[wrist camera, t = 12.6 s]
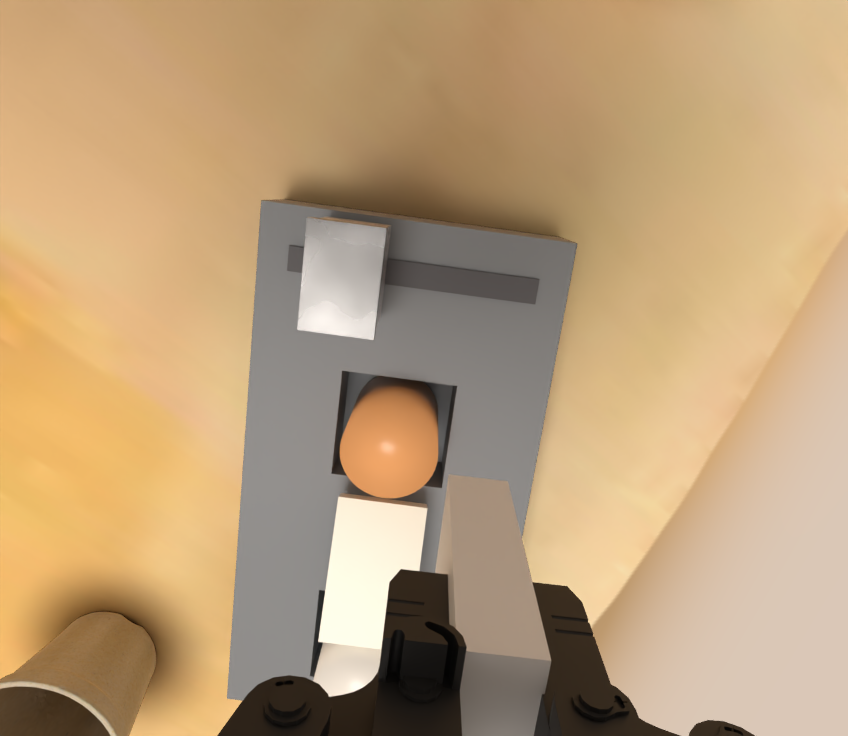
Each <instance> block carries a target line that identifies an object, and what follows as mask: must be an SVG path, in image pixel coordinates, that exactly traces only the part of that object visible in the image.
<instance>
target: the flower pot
mask: <svg viewBox="0 0 848 736" xmlns="http://www.w3.org/2000/svg"><path fill="white" fill-rule="evenodd" d="M155 666H156V651H155V647H154V644H153V642H152V640H151V638H150V636H149V635H148V633H147V632H146V631H145V629H144V628H143V627H141V626H139V625H136V624H134V623H132V622H130V621H129V620H127V619H126V618H125V617H124V616H123V615H121V614H117V613H112V612H94V613H90V614H87V615H84V616H82V617H80V618H78V619H76V620H75V621H73V622H72V623H71V624H70V625H69V626H68V627H67V628H66V629H65V630H64V631H62V632H61V633H60V634H59V635H58V636H57V637H56V638H54V639H53V640H52V641H51V642H50V643H49V644H47V645H46V646H45V647H44V648H43V649H41V650H40V651H39V652H38V653H37V654H36V655H34V656H33V657H32V658H31V659H30V660H28V661H27V662H26V663H25V664H24V665H22V666H21V667H20V668H19V669H18V670H16V671H15V672H14V673H12V674H10V675H7V676H5V677H3V678H2V679H0V736H129V735H130V732H131V729H132V727H133V724H134V722H135V719H136V716H137V714H138V711H139V708H140V706H141V703H142V700H143V698H144V695H145V693H146V690H147V687H148V685H149V682H150V680H151V678H152V675H153V673H154V670H155Z"/></svg>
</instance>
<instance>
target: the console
mask: <svg viewBox="0 0 848 736" xmlns="http://www.w3.org/2000/svg"><path fill="white" fill-rule="evenodd" d="M307 217H315V218H323V217H334V218H342V219H349V220H356V221H364V222H371V223H378V224H386V225H391V233H390V242H389V250H388V259H387V267H386V275H385V284H384V292H383V301H382V309H381V318H380V320H379V322H378V324H377V327H376V333H375V338H374V340H369V339H362V338H354V337H347V336H340V335H332V334H325V333H317V332H310V331H302V330H297V326H298V314H299V303H300V291H301V280H302V268H303V257H304V245H305V233H306V222H307ZM576 249H577V243H574V242H572V241H569V240H566V239H563V238H560V237H556V236H548V235H541V234H534V233H526V232H519V231H512V230H504V229H497V228H490V227H482V226H475V225H468V224H461V223H453V222H446V221H439V220H431V219H424V218H417V217H409V216H402V215H395V214H388V213H380V212H373V211H366V210H358V209H351V208H344V207H336V206H329V205H322V204H315V203H307V202H300V201H293V200H285V199H284V200H261V214H260V228H259V243H258V257H257V271H256V286H255V300H254V315H253V329H252V344H251V358H250V373H249V387H248V402H247V416H246V431H245V445H244V460H243V474H242V489H241V503H240V518H239V532H238V547H237V561H236V576H235V590H234V605H233V619H232V633H231V648H230V662H229V677H228V691H227V698H228V699H235V700H244V698H245V697H246V696H247V694H248V693H249V692H250V691H251V690H253V689H254V688H255V687H256V686H257V685H258V684H260V683H262V682H264V681H266V680H269V679H271V678H273V677H280V676H287V675H292V676H299V677H306V678H308V679H310V680H312V681H313V680H314V676H315V672H316V668H317V664H318V660H319V656H320V652H321V648H322V644H323V642H318V639H319V632H320V625H321V618H322V611H323V604H324V596H325V589H326V582H327V575H328V568H329V560H330V553H331V546H332V539H333V532H334V524H335V517H336V510H337V503H338V496H339V495H340V494H341V493H346V494H354V495H361V496H369V497H376V496H373V495H370V494H368V493H366V492H364V491H362V490H361V489H359V488H358V487H357V486H356V485H354V484H353V483H352V481H351V480H350V479H349V478H348V476H347V475H346V473H345V471H344V469H343V467H342V464H341V460H340V443H341V439H342V436H343V433H344V431H345V428H346V426H347V423H348V421H349V418H350V416H351V413H352V410H353V408H354V405H355V403H356V400H357V398H358V396H359V394H360V392H361V390H362V389H363V387H364V386H365V385H366V384H367V383H368V382H369V381H371V380H372V379H374V378H375V377H377V376H386V377H394V378H401V379H409V380H416V381H423V382H424V383H425V384H426V385H427V386H428V387H429V388H430V390H431V391H432V392H433V394H434V396H435V399H436V401H437V406H438V461H437V465H436V468H435V471H434V473H433V475H432V476H431V478H430V479H429V481H428V482H427V483H426V484H425V485H424V486H423V487H421V488H420V489H419V490H417V491H416V492H414V493H412V494H410V495H407V496H404V497H400V498H384V499H392V500H399V501H407V502H415V503H422V504H427V516H426V524H425V531H424V539H423V546H422V554H421V562H420V569H419V571H422V572H431V573H435V569H436V562H437V555H438V548H439V541H440V533H441V526H442V519H443V512H444V505H445V498H446V491H447V484H448V476H449V474H450V475H458V476H467V477H475V478H484V479H492V480H501V481H508V484H509V488H510V492H511V496H512V500H513V505H514V509H515V513H516V517H517V521H518V525H519V529H520V533H521V538H522V535H523V530H524V524H525V519H526V514H527V508H528V503H529V498H530V492H531V487H532V482H533V477H534V471H535V466H536V461H537V455H538V450H539V445H540V439H541V434H542V429H543V424H544V418H545V413H546V408H547V402H548V397H549V392H550V386H551V381H552V376H553V371H554V365H555V360H556V355H557V349H558V344H559V339H560V333H561V328H562V323H563V318H564V312H565V307H566V302H567V296H568V291H569V286H570V280H571V275H572V270H573V265H574V259H575V254H576ZM376 498H380V497H376Z"/></svg>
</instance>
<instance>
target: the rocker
mask: <svg viewBox="0 0 848 736" xmlns="http://www.w3.org/2000/svg"><path fill="white" fill-rule="evenodd" d="M426 516H427V504H422V503H415V502H407V501H399V500H392V499H384V498H376V497H369V496H361V495H354V494H346V493H341V494H340V495H339V496H338V503H337V510H336V517H335V524H334V532H333V539H332V546H331V553H330V560H329V568H328V575H327V582H326V589H325V596H324V604H323V611H322V618H321V625H320V632H319V639H318V642H325V643H333V644H340V645H348V646H356V647H364V648H372V649H380V650H381V648H382V640H383V631H384V623H385V615H386V606H387V598H388V590H389V582H390V581H391V580H392V579H393V577H394V576H395V575H396V574H397V573H398V572H399V571H400V569H405V570H414V571H419V569H420V562H421V554H422V546H423V539H424V531H425V524H426Z"/></svg>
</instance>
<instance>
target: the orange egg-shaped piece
mask: <svg viewBox="0 0 848 736" xmlns="http://www.w3.org/2000/svg"><path fill="white" fill-rule="evenodd" d="M340 460H341V464H342V467H343V469H344V471H345V473H346V475H347V476H348V478H349V479H350V480H351V481H352V483H353V484H354V485H356V486H357V487H358V488H359V489H361V490H362V491H364V492H366V493H368V494H370V495H373V496H376V497H380V498H400V497H404V496H407V495H410V494H412V493H414V492H416V491H417V490H419V489H420V488H421V487H423V486H424V485H425V484H426V483H427V482H428V481H429V479H430V478H431V476H432V475H433V473H434V471H435V468H436V465H437V461H438V406H437V401H436V399H435V396H434V394H433V392H432V391H431V390H430V388H429V387H428V386H427V385H426V384H425V383H424V382H423V381H416V380H409V379H401V378H394V377H386V376H377V377H375V378H374V379H372V380H371V381H369V382H368V383H367V384H366V385H365V386H364V387H363V389H362V390H361V392H360V394H359V396H358V398H357V400H356V403H355V405H354V408H353V410H352V413H351V416H350V418H349V421H348V423H347V426H346V428H345V431H344V433H343V436H342V439H341V443H340Z"/></svg>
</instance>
